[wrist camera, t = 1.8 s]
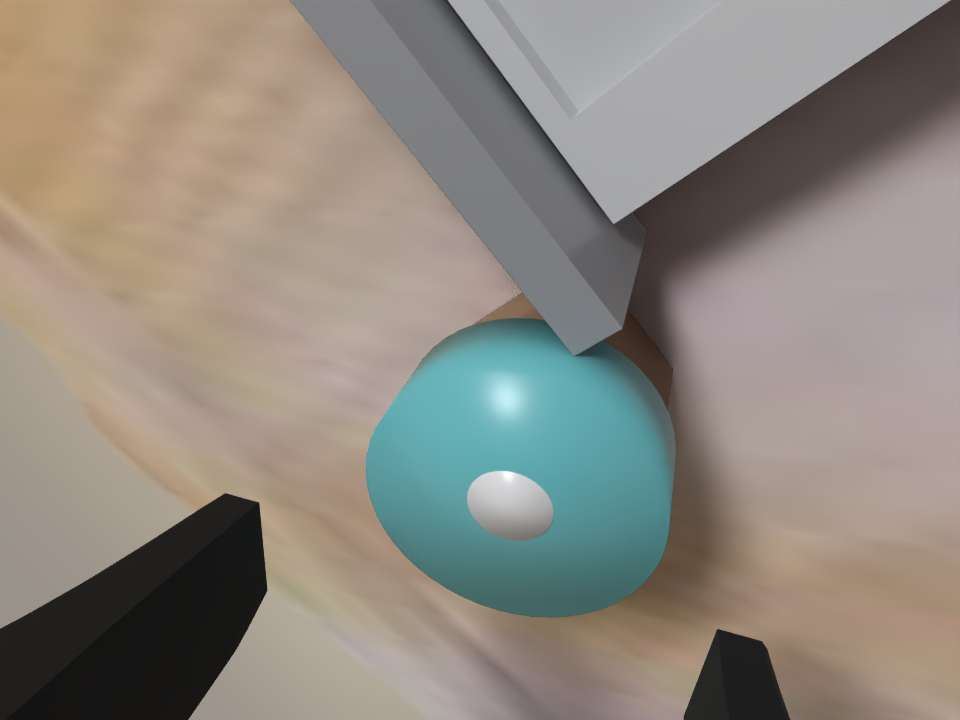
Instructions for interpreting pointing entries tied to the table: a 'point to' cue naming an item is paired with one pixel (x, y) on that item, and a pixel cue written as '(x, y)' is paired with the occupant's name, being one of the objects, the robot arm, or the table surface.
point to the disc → (526, 470)
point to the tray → (586, 113)
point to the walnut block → (625, 341)
